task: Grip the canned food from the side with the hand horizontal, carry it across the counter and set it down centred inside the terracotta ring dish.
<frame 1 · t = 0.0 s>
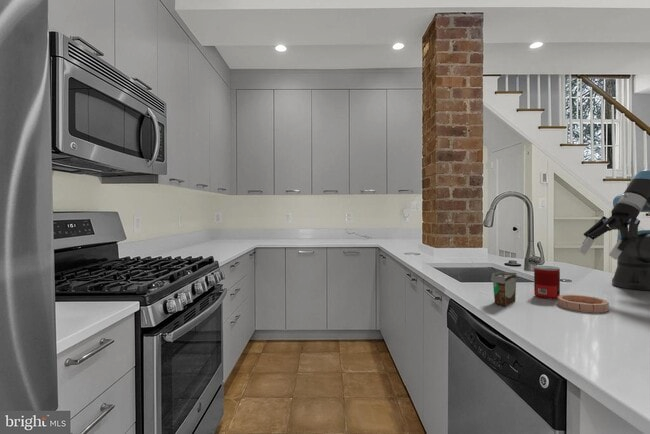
hand: (596, 254, 131), 15 cm above the worktop, tool tilted 35°, fingers open, 13 cm apart
ring dish: (582, 306, 118), on the worktop
food container: (501, 303, 124), on the worktop
canned food: (546, 297, 132), on the worktop
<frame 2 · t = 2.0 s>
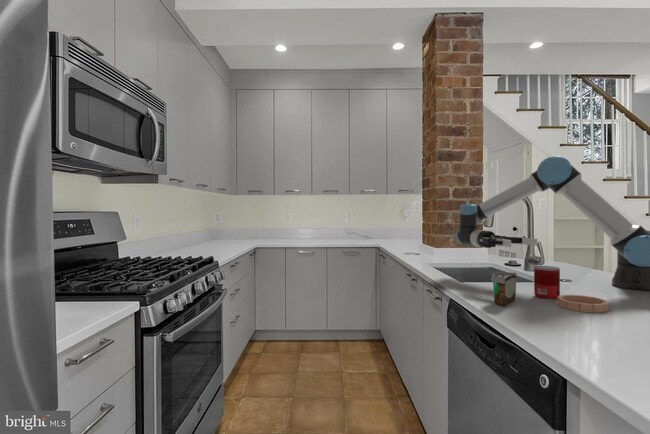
hand: (523, 242, 141), 19 cm above the worktop, tool horizontal, fingers open, 13 cm apart
nothing on the worktop moved.
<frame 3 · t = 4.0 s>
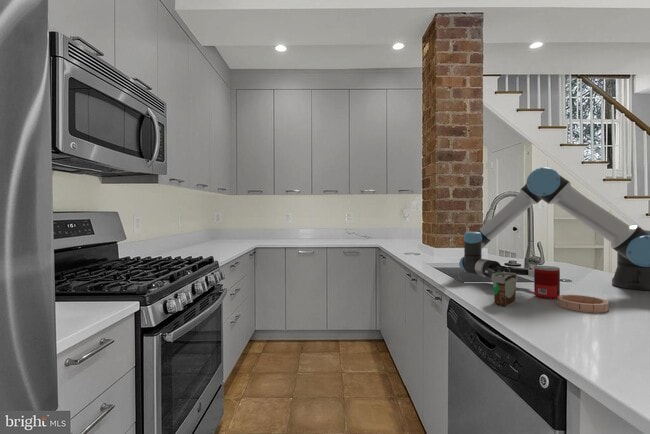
hand: (530, 276, 138), 6 cm above the worktop, tool horizontal, fingers open, 13 cm apart
nothing on the worktop moved.
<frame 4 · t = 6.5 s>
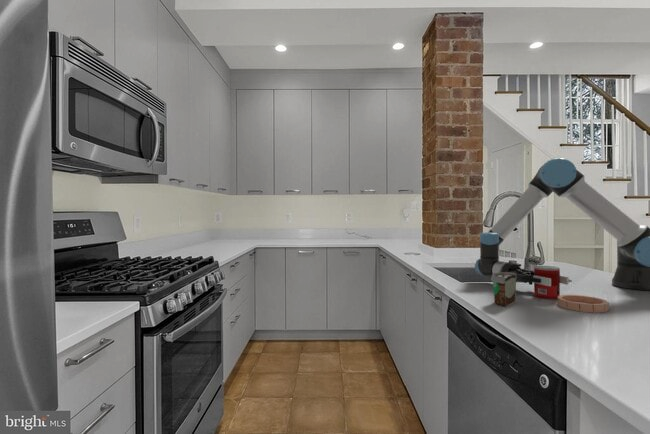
hand: (559, 281, 127), 7 cm above the worktop, tool horizontal, fingers closed on canned food, 8 cm apart
canned food: (546, 297, 132), on the worktop, touching gripper
everything else where it was.
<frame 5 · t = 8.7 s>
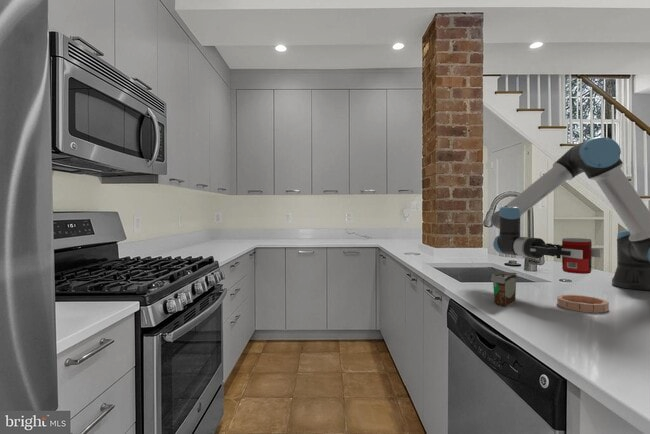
hand: (591, 253, 114), 18 cm above the worktop, tool horizontal, fingers closed on canned food, 8 cm apart
canned food: (576, 272, 119), point 11 cm above the worktop, touching gripper
everything else where it was.
when the fingers open (9 cm above the worktop, at t = 11.0 s): canned food drops 1 cm, resting on ring dish.
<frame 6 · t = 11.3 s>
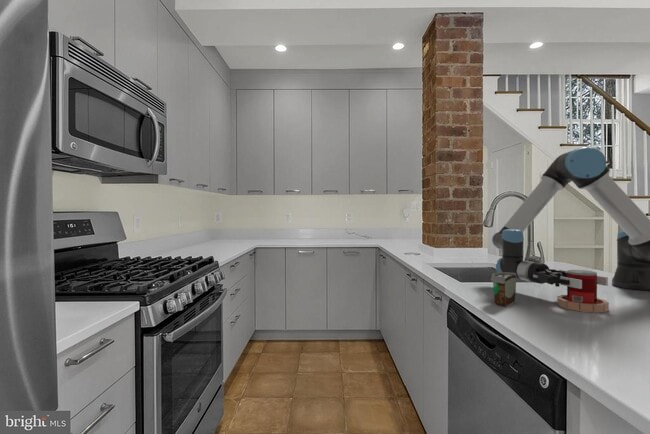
hand: (594, 282, 114), 9 cm above the worktop, tool horizontal, fingers open, 11 cm apart
canned food: (581, 305, 118), resting on ring dish
everything else where it was.
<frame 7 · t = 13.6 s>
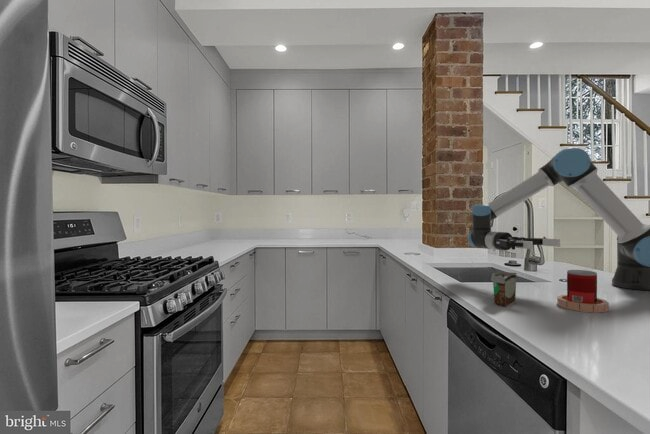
hand: (546, 244, 130), 20 cm above the worktop, tool horizontal, fingers open, 13 cm apart
nothing on the worktop moved.
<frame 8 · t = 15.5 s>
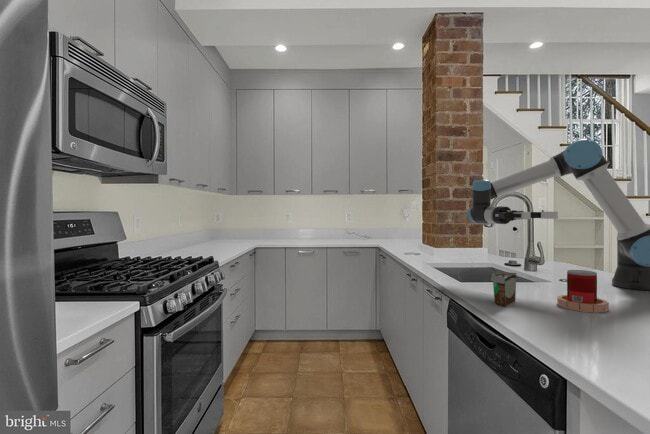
hand: (543, 215, 132), 30 cm above the worktop, tool horizontal, fingers open, 13 cm apart
nothing on the worktop moved.
at the end: canned food 0.1 cm from the ring dish (horizontally); canned food tilted 0°; the gripper is holding nothing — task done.
